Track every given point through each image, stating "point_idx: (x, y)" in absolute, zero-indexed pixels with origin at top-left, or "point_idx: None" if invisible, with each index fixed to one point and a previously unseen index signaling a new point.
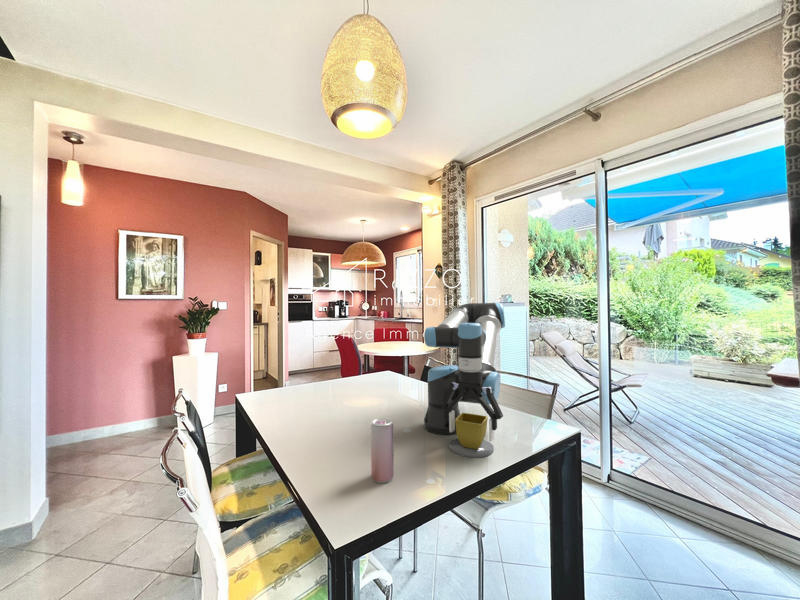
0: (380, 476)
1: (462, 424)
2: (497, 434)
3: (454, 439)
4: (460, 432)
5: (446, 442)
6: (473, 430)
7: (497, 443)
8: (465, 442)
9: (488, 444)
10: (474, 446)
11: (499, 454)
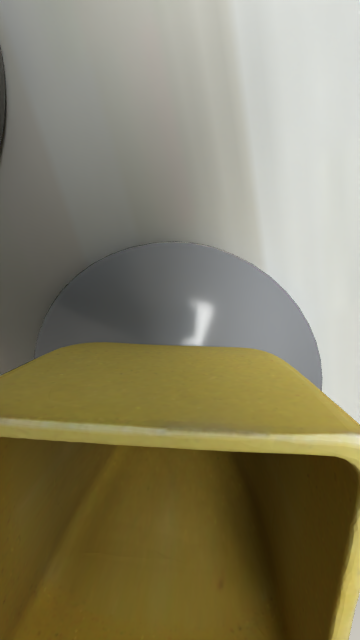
0: None
1: None
2: (326, 2)
3: (40, 341)
4: (95, 561)
5: (9, 362)
6: (210, 619)
7: (335, 233)
8: (147, 484)
9: (280, 331)
10: (209, 468)
11: (355, 405)
